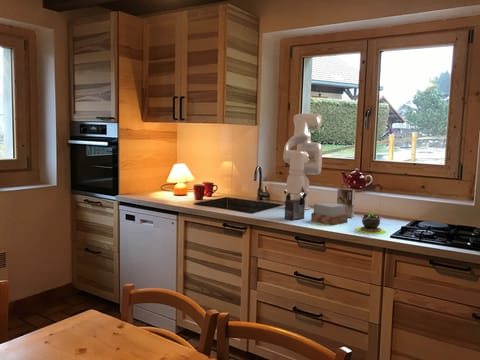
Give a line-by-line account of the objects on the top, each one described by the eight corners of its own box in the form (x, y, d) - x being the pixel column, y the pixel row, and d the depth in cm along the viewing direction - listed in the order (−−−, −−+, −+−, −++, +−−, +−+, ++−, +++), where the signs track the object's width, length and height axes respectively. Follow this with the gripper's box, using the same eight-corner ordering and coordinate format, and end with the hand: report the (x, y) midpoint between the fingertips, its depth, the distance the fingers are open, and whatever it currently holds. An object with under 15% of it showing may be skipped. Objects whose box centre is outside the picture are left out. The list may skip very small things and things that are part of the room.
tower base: (310, 222, 242) (311, 213, 242) (325, 219, 252) (326, 210, 251) (332, 226, 232) (333, 217, 232) (347, 223, 242) (347, 214, 241)
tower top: (313, 213, 242) (313, 204, 242) (327, 211, 250) (327, 202, 249) (331, 216, 233) (331, 207, 233) (344, 214, 241) (345, 205, 240)
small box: (295, 216, 254) (296, 198, 253) (304, 218, 249) (305, 200, 248) (283, 219, 246) (284, 200, 245) (293, 220, 242) (293, 201, 241)
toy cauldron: (362, 226, 233) (364, 205, 232) (390, 231, 223) (392, 209, 222) (349, 230, 221) (351, 208, 220) (378, 235, 212) (380, 213, 211)
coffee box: (354, 216, 261) (355, 189, 259) (351, 218, 255) (353, 190, 253) (338, 214, 265) (340, 188, 263) (335, 216, 259) (337, 189, 258)
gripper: (280, 172, 248) (278, 202, 250) (304, 174, 236) (303, 206, 237) (288, 172, 254) (287, 201, 255) (313, 174, 241) (311, 205, 243)
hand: (294, 203), depth 246 cm, fingers open, 9 cm apart
